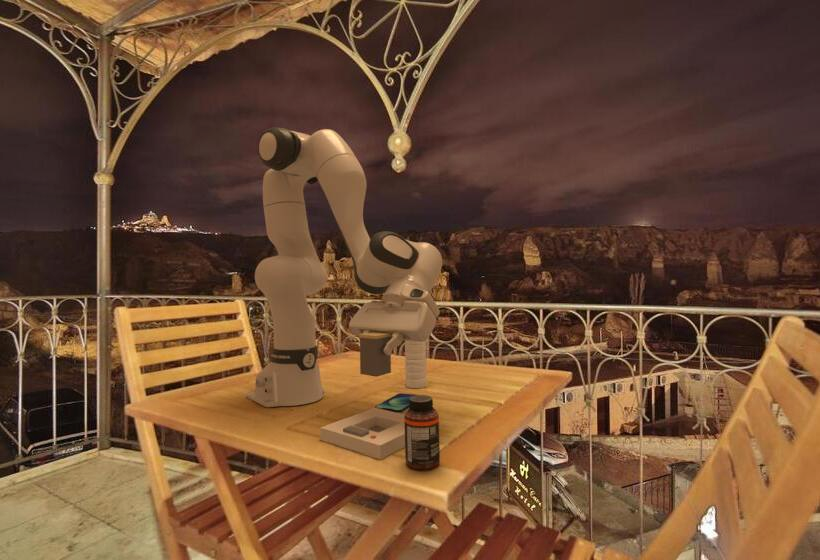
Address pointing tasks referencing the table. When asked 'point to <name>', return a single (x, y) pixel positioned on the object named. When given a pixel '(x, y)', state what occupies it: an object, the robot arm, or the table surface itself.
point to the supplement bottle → (421, 433)
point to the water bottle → (415, 364)
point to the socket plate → (368, 432)
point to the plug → (374, 354)
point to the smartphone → (396, 403)
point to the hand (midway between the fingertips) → (373, 352)
